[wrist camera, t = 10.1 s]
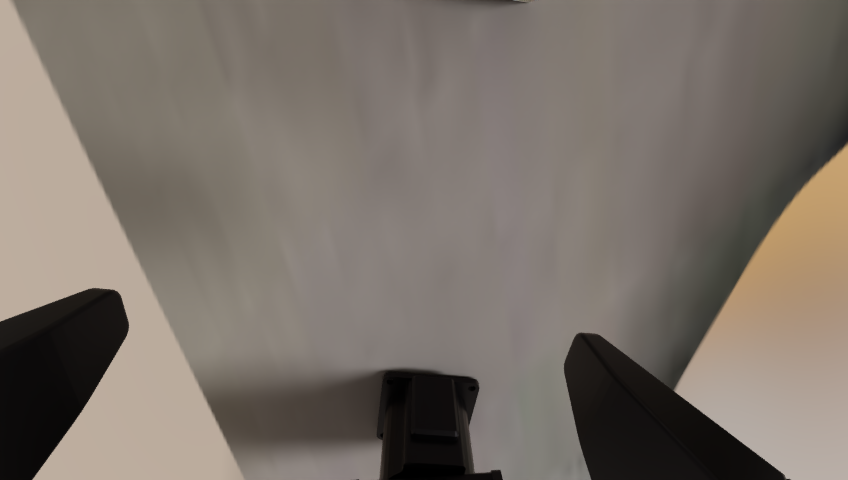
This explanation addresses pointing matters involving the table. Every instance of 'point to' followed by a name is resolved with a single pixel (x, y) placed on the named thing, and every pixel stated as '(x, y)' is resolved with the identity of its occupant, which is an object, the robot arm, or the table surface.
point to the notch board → (525, 0)
